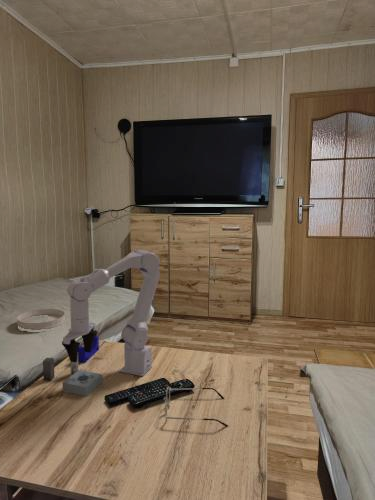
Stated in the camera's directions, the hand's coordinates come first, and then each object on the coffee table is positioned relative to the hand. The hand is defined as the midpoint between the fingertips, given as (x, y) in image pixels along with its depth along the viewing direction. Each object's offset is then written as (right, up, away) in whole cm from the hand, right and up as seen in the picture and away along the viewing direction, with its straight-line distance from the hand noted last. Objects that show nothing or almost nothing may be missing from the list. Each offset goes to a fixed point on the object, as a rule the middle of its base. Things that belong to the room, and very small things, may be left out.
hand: (80, 356), depth 112 cm
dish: (-37, -2, +56) cm, 68 cm away
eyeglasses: (+38, -13, -12) cm, 42 cm away
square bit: (-12, -9, +5) cm, 16 cm away
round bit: (-5, -9, +8) cm, 13 cm away
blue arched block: (-5, -7, +23) cm, 25 cm away
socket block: (+1, -10, 0) cm, 10 cm away
